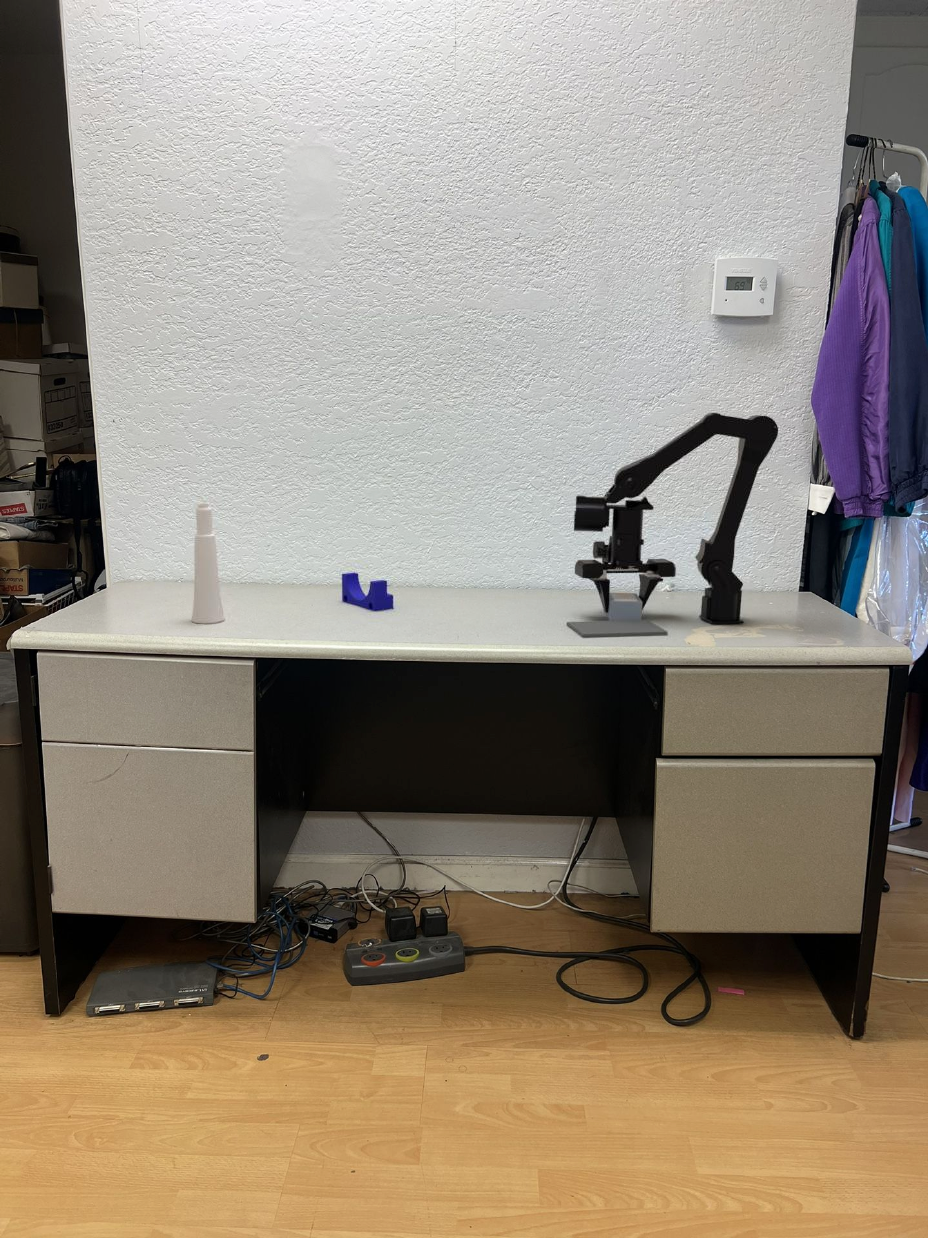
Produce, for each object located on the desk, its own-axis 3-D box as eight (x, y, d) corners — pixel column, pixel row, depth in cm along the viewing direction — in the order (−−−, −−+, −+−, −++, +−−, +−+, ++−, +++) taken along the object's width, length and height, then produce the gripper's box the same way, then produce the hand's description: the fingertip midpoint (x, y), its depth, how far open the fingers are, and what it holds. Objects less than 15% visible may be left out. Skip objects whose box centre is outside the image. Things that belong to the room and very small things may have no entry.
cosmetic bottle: (191, 624, 183) (186, 504, 178) (191, 617, 188) (186, 501, 184) (225, 623, 184) (221, 504, 180) (224, 616, 190) (219, 500, 185)
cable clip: (393, 609, 200) (393, 580, 198) (374, 612, 197) (374, 582, 196) (360, 599, 209) (360, 571, 207) (342, 602, 206) (341, 573, 205)
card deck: (635, 612, 199) (636, 592, 198) (641, 622, 190) (642, 601, 189) (605, 612, 199) (606, 592, 198) (609, 622, 190) (610, 601, 190)
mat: (647, 622, 190) (647, 619, 190) (667, 634, 180) (667, 631, 180) (566, 625, 187) (566, 622, 187) (582, 637, 177) (582, 634, 177)
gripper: (657, 526, 201) (653, 602, 204) (568, 527, 197) (565, 605, 201) (679, 534, 190) (674, 614, 193) (585, 535, 186) (581, 616, 190)
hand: (622, 612), depth 195 cm, fingers closed on card deck, 7 cm apart
